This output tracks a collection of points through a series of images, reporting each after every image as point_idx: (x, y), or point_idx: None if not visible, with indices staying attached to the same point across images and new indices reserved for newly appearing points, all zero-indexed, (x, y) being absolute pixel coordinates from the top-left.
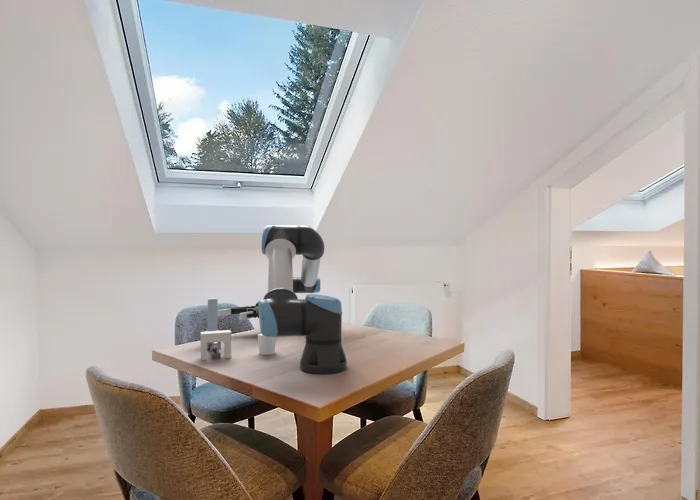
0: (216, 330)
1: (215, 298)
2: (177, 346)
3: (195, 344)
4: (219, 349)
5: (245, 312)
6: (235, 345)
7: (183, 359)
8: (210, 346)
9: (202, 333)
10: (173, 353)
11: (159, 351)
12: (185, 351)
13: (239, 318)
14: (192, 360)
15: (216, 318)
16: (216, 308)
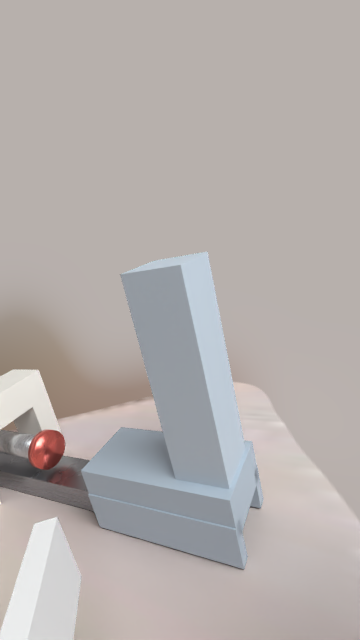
0: (177, 468)
1: (151, 267)
2: (268, 415)
3: (267, 463)
4: (17, 474)
5: (17, 615)
6: (86, 634)
7: (94, 414)
8: (87, 461)
9: (14, 372)
10: None
11: None
12: None
13: (72, 564)
14: (63, 427)
15: (158, 402)
16: (141, 339)
